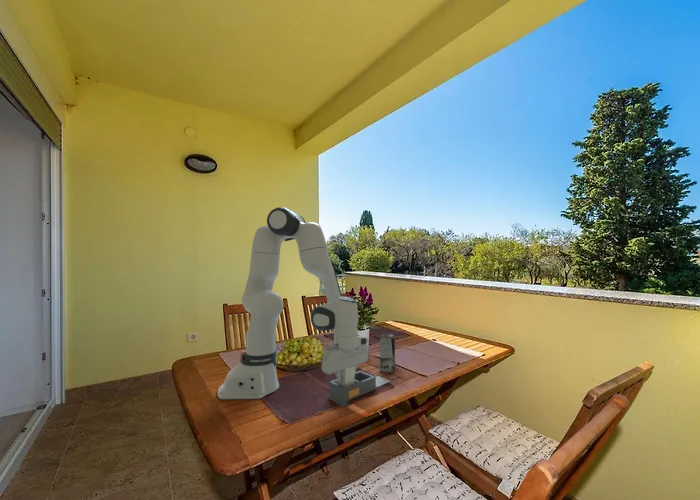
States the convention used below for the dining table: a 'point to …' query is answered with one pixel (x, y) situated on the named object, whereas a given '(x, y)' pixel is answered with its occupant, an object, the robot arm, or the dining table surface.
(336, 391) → the slot rack
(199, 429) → the dining table surface
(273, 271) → the robot arm
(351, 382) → the peg
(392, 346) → the coffee box
